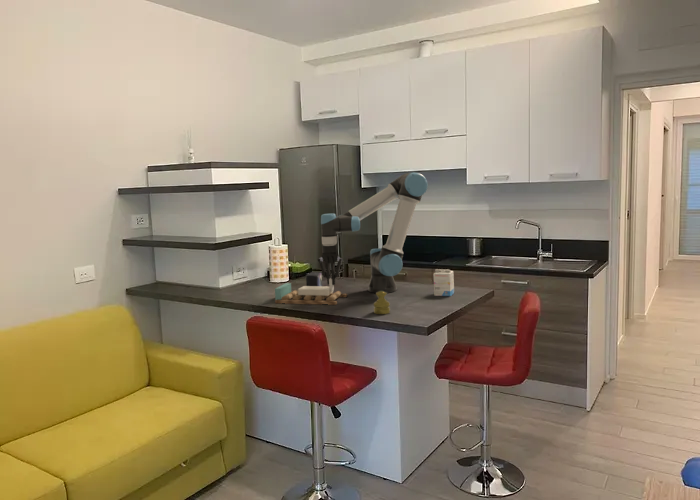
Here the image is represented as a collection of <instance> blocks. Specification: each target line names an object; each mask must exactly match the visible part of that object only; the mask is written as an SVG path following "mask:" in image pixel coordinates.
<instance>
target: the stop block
mask: <svg viewBox="0 0 700 500" xmlns="http://www.w3.org/2000/svg"><path fill="white" fill-rule="evenodd" d="M290 292H292V283H291V282H290V283H289V282H286V283H283V284H282V285H279V286H277V287H276V288H274V296H275V298H274V299H275V300H281V298H282V297H283V296H285V295H287V294H288V293H290Z"/></svg>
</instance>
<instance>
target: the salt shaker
mask: <svg viewBox="0 0 700 500" xmlns="http://www.w3.org/2000/svg"><path fill="white" fill-rule="evenodd" d="M387 294H388V293H386V292H383V291H379V292H377V293H375V296H377V300H375V301H374V302H373V303H372V305H373V313H374V314H376V315H388V314H390V313H391V307H390V306H391V303H390V301H388V299H386V298H385V297H386V296H387Z"/></svg>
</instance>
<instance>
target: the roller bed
mask: <svg viewBox="0 0 700 500" xmlns="http://www.w3.org/2000/svg"><path fill="white" fill-rule="evenodd" d="M347 297H348V293H342V291H340V290H336V291H334V292H333V293H331V294H330V295H328V296H323V295H298V289H297V290H296V289H294V290H291V292H290V293H288V294H287V295H285V296H283V297H282V298H281V300H276V299H275V301H274V303H275V304H282V303H285V304H286V305H287V304H291V305H322V304H328V305H329V306H336V305H337V304H338V301H337V299H338V298H347ZM325 299H326V300H325ZM328 305H327V306H328Z"/></svg>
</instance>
